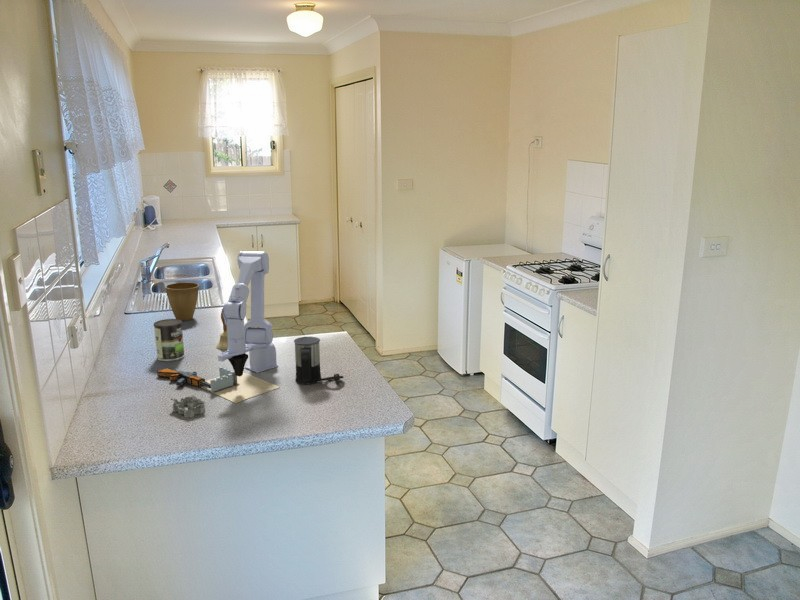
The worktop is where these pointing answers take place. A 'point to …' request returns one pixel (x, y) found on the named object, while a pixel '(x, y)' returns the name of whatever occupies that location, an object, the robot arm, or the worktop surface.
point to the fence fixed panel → (225, 372)
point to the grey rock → (189, 406)
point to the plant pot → (183, 299)
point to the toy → (183, 377)
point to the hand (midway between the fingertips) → (239, 375)
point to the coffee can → (169, 339)
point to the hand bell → (223, 336)
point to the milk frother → (309, 361)
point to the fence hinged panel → (223, 382)
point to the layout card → (244, 388)
